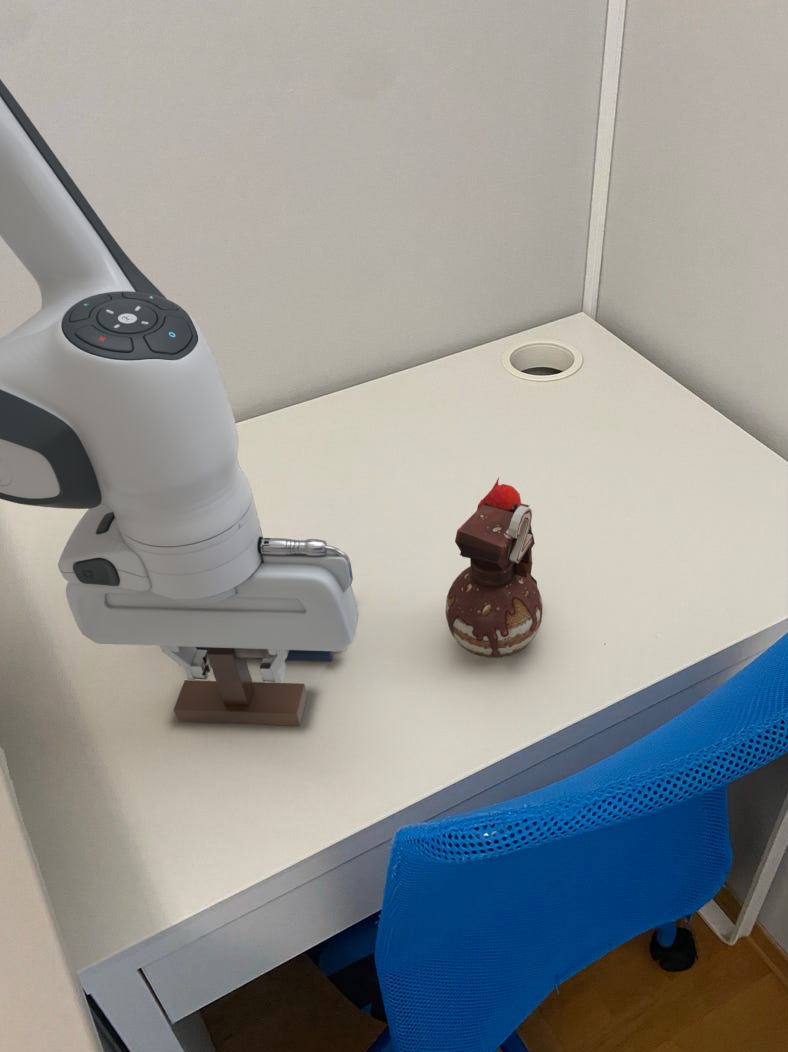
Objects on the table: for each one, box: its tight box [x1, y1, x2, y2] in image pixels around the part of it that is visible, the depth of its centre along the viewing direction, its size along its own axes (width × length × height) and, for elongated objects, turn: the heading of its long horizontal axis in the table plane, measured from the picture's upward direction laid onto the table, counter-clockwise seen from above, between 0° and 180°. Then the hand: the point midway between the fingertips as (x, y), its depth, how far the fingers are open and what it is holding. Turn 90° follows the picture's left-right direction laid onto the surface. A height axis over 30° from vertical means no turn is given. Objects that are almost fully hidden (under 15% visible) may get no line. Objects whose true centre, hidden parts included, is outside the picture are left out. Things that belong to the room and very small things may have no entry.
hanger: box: [173, 647, 308, 726], centre depth 74 cm, size 10×3×8 cm, turn 86°
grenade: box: [445, 477, 543, 659], centre depth 76 cm, size 9×8×15 cm
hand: (237, 674), depth 73 cm, fingers open, 5 cm apart
